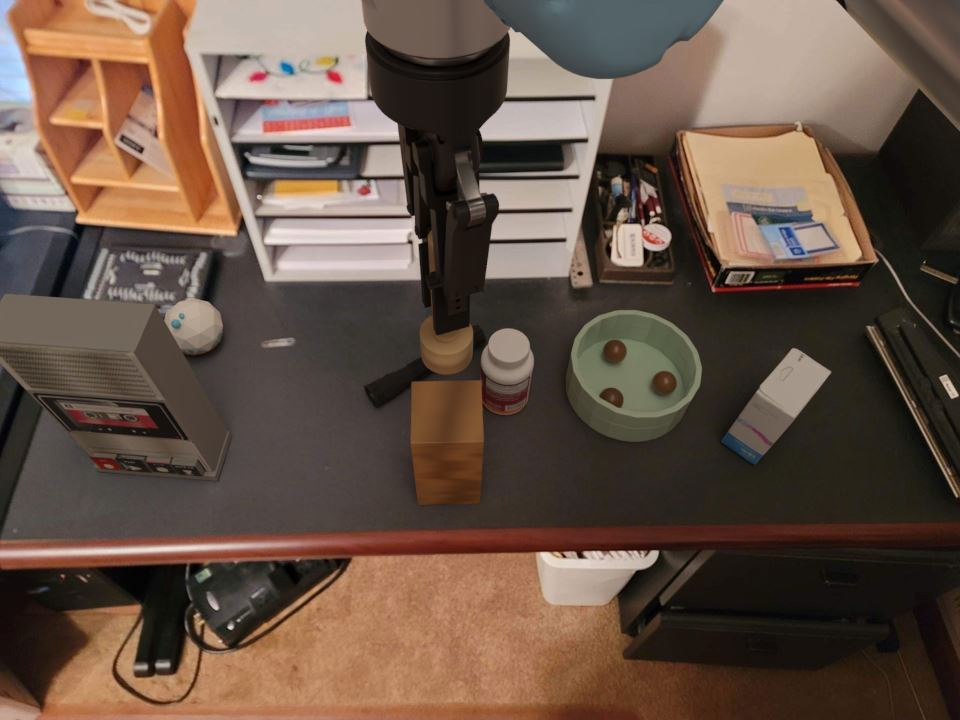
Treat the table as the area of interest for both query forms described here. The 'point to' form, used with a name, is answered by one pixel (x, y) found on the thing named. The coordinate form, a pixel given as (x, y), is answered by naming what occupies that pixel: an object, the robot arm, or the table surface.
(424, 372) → the flashlight
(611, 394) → the hazelnut
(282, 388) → the table surface
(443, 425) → the block
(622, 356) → the hazelnut
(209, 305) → the ornament
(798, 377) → the ink box
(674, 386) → the hazelnut
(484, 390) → the pill bottle
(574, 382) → the bowl
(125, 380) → the cassette tape recorder
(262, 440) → the table surface
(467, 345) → the pestle
